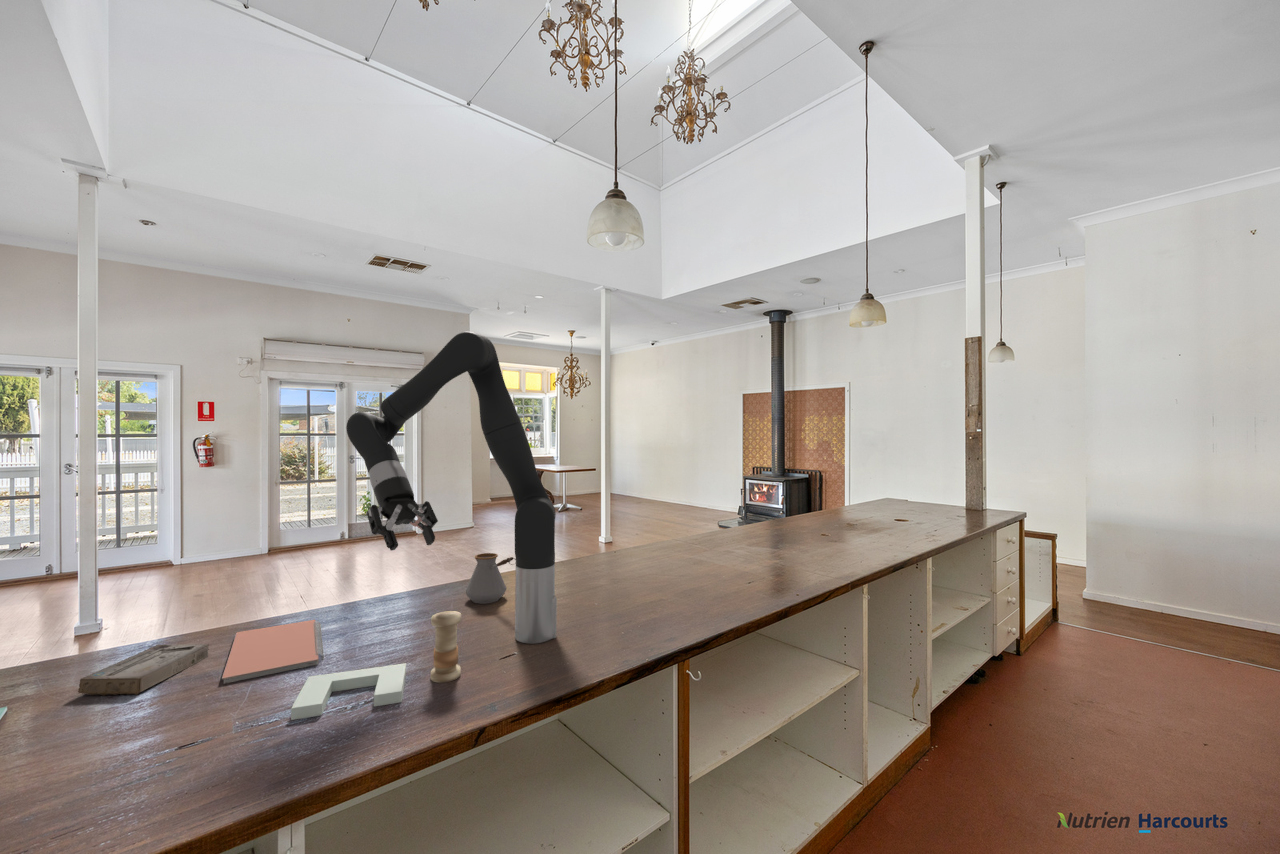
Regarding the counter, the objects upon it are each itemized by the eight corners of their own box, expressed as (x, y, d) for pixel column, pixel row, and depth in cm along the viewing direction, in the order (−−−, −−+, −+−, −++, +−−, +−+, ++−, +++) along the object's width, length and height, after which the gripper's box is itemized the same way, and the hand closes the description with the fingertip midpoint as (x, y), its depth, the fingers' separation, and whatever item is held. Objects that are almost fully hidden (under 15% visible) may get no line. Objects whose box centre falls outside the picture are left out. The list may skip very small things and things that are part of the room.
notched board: (406, 673, 104) (406, 663, 104) (401, 702, 93) (401, 691, 93) (308, 687, 98) (308, 676, 98) (291, 720, 87) (291, 708, 87)
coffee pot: (458, 599, 151) (459, 547, 151) (494, 591, 159) (495, 542, 159) (493, 618, 136) (493, 561, 136) (531, 608, 143) (531, 554, 144)
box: (76, 696, 94) (77, 679, 94) (156, 657, 111) (157, 643, 111) (139, 695, 95) (140, 678, 95) (209, 657, 112) (210, 643, 112)
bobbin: (460, 667, 107) (460, 609, 107) (460, 679, 102) (461, 618, 102) (431, 672, 105) (431, 612, 105) (430, 684, 100) (431, 622, 100)
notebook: (324, 666, 108) (324, 656, 108) (221, 687, 99) (221, 676, 99) (320, 625, 131) (320, 617, 131) (236, 639, 122) (236, 631, 122)
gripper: (367, 475, 111) (389, 540, 105) (427, 474, 123) (450, 532, 116) (352, 495, 114) (373, 560, 108) (412, 492, 126) (434, 550, 119)
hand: (413, 545), depth 112 cm, fingers open, 8 cm apart
